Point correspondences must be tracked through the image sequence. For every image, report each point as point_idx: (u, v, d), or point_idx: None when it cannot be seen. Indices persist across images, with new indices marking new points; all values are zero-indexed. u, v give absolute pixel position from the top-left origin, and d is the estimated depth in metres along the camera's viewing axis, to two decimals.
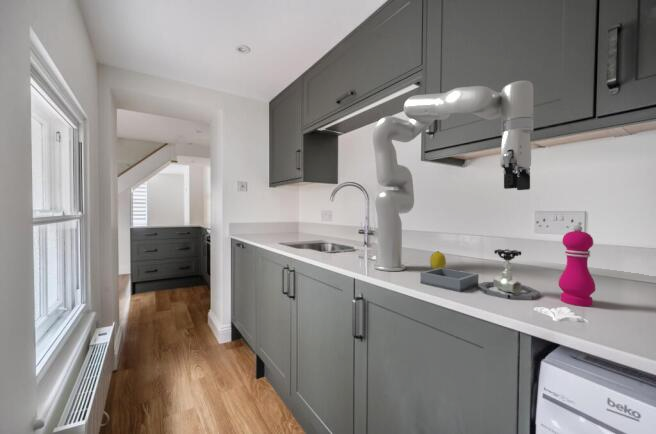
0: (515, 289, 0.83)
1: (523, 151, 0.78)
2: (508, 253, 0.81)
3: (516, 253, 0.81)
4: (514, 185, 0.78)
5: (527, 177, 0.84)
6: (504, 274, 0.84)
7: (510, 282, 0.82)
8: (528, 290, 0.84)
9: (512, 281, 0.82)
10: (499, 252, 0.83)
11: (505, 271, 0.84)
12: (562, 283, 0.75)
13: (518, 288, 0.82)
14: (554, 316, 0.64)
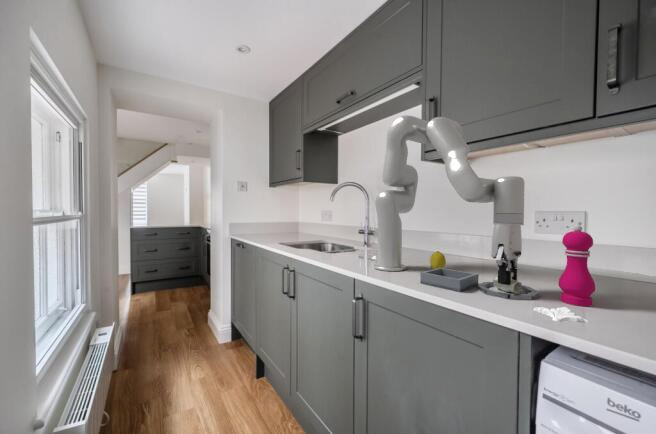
0: (515, 289, 0.83)
1: (513, 246, 0.81)
2: None
3: (517, 253, 0.81)
4: (507, 282, 0.82)
5: (514, 270, 0.85)
6: None
7: (511, 282, 0.82)
8: (528, 290, 0.84)
9: (513, 281, 0.82)
10: None
11: None
12: (562, 283, 0.75)
13: (518, 288, 0.82)
14: (554, 316, 0.64)
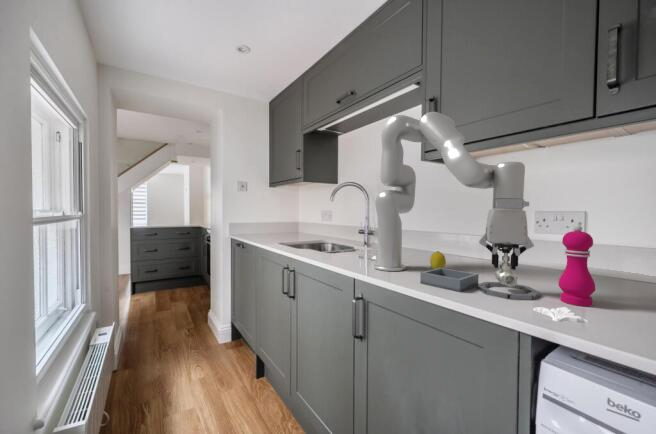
0: (511, 282, 0.83)
1: (497, 230, 0.83)
2: (500, 246, 0.82)
3: (509, 246, 0.81)
4: (495, 265, 0.85)
5: (512, 257, 0.83)
6: (500, 266, 0.84)
7: (504, 275, 0.83)
8: (528, 290, 0.84)
9: (506, 274, 0.82)
10: None
11: (502, 264, 0.84)
12: (562, 283, 0.75)
13: (514, 281, 0.82)
14: (554, 316, 0.64)
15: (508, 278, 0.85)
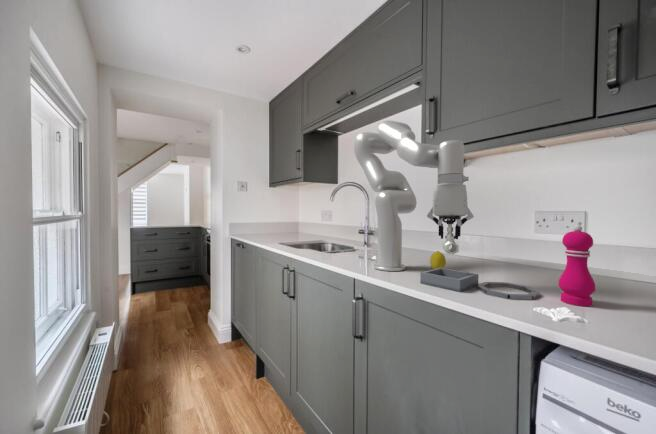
0: (454, 251, 0.90)
1: (441, 203, 0.91)
2: (443, 217, 0.90)
3: (451, 217, 0.89)
4: None
5: (455, 228, 0.91)
6: (445, 237, 0.92)
7: (448, 243, 0.90)
8: (528, 290, 0.84)
9: (449, 243, 0.90)
10: (439, 217, 0.92)
11: (447, 234, 0.92)
12: (562, 283, 0.75)
13: (456, 249, 0.89)
14: (554, 316, 0.64)
15: (453, 248, 0.93)
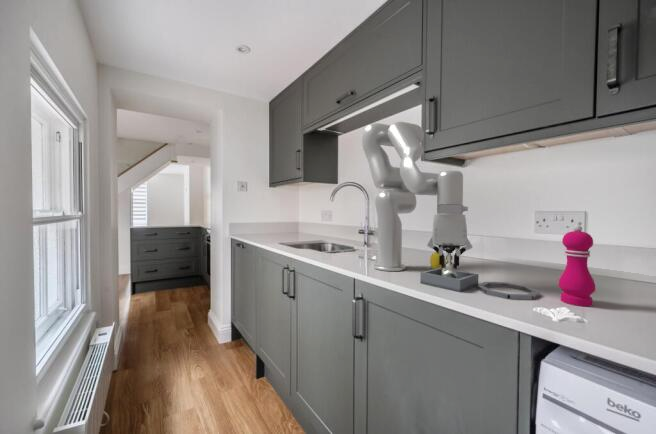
0: None
1: (441, 233, 0.91)
2: (443, 246, 0.90)
3: (450, 246, 0.89)
4: None
5: (454, 257, 0.91)
6: (444, 265, 0.92)
7: (447, 273, 0.91)
8: (528, 290, 0.84)
9: (448, 272, 0.90)
10: (438, 245, 0.92)
11: (446, 263, 0.92)
12: (562, 283, 0.75)
13: None
14: (554, 316, 0.64)
15: (452, 276, 0.93)
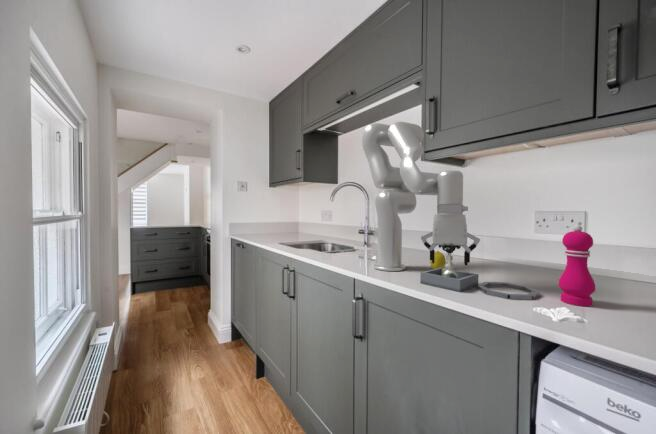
0: None
1: (441, 233, 0.91)
2: (443, 246, 0.90)
3: (451, 246, 0.89)
4: (432, 261, 0.94)
5: (464, 254, 0.90)
6: (444, 265, 0.92)
7: (447, 273, 0.91)
8: (528, 290, 0.84)
9: (449, 272, 0.90)
10: (439, 245, 0.93)
11: (446, 263, 0.92)
12: (562, 283, 0.75)
13: None
14: (554, 316, 0.64)
15: (452, 276, 0.93)
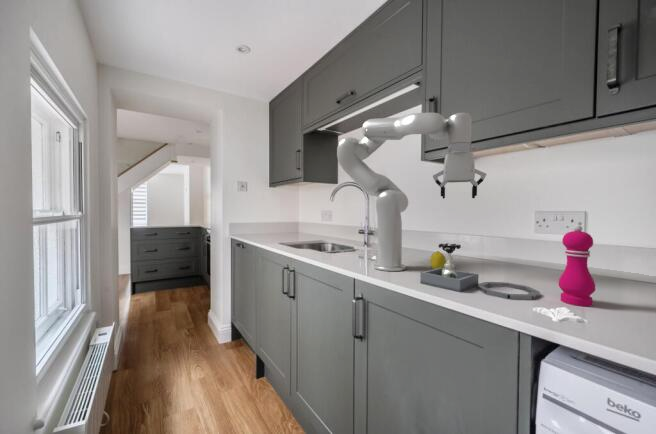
0: None
1: (451, 170, 1.02)
2: (443, 246, 0.90)
3: (451, 246, 0.89)
4: None
5: (472, 188, 1.01)
6: (444, 265, 0.92)
7: (447, 273, 0.91)
8: (528, 290, 0.84)
9: (449, 272, 0.90)
10: (439, 245, 0.93)
11: (446, 263, 0.92)
12: (562, 283, 0.75)
13: None
14: (554, 316, 0.64)
15: (452, 276, 0.93)
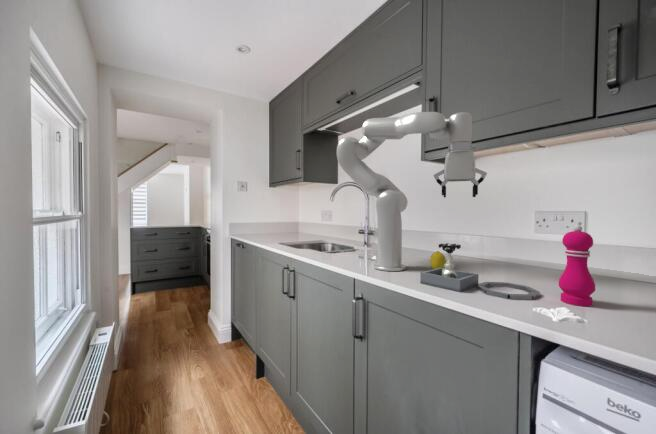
0: None
1: (452, 169, 1.03)
2: (443, 246, 0.90)
3: (451, 246, 0.89)
4: None
5: (473, 186, 1.01)
6: (444, 265, 0.92)
7: (447, 273, 0.91)
8: (528, 290, 0.84)
9: (449, 272, 0.90)
10: (439, 245, 0.93)
11: (446, 263, 0.92)
12: (562, 283, 0.75)
13: None
14: (554, 316, 0.64)
15: (452, 276, 0.93)
